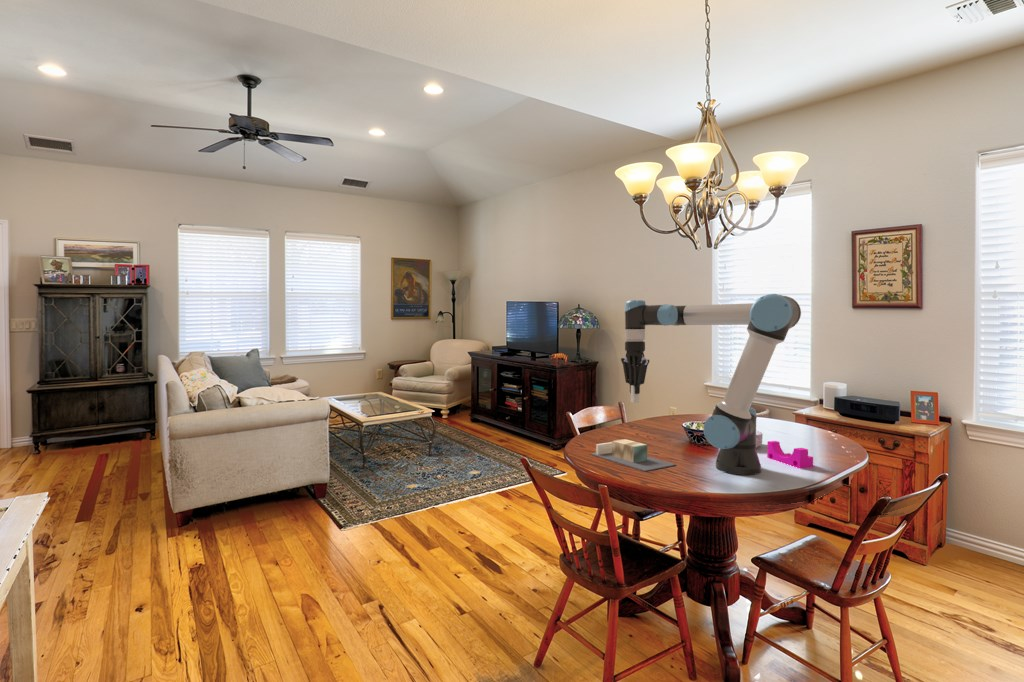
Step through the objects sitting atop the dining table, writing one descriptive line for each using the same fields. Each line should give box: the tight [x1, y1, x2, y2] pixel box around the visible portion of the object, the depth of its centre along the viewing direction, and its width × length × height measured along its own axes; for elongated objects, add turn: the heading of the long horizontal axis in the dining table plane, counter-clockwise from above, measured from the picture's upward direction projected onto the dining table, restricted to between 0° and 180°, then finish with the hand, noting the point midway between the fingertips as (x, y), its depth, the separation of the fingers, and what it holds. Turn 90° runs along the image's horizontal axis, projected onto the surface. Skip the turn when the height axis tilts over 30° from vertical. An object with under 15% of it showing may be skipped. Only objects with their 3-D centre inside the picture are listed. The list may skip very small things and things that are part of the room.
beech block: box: [611, 438, 648, 463], centre depth 206 cm, size 6×7×12 cm
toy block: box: [766, 440, 814, 469], centre depth 198 cm, size 15×6×8 cm, turn 19°
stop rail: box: [595, 441, 612, 455], centre depth 215 cm, size 1×14×4 cm, turn 121°
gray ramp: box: [589, 452, 677, 472], centre depth 205 cm, size 30×16×1 cm, turn 31°
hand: (634, 402), depth 203 cm, fingers closed
